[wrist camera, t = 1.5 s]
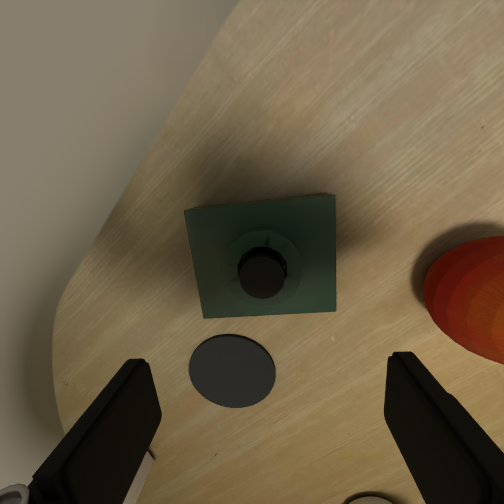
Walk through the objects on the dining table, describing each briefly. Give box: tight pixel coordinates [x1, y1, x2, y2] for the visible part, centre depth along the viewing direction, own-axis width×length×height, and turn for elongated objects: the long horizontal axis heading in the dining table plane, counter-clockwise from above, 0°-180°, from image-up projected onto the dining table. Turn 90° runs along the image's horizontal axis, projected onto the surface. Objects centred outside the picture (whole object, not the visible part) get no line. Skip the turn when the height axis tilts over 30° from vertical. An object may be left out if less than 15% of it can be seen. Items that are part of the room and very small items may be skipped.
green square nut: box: [184, 193, 336, 319], centre depth 20 cm, size 12×10×5 cm
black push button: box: [239, 249, 285, 299], centre depth 17 cm, size 3×3×2 cm
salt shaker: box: [123, 451, 153, 504], centre depth 27 cm, size 4×4×10 cm
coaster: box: [189, 334, 275, 408], centre depth 27 cm, size 10×10×1 cm
